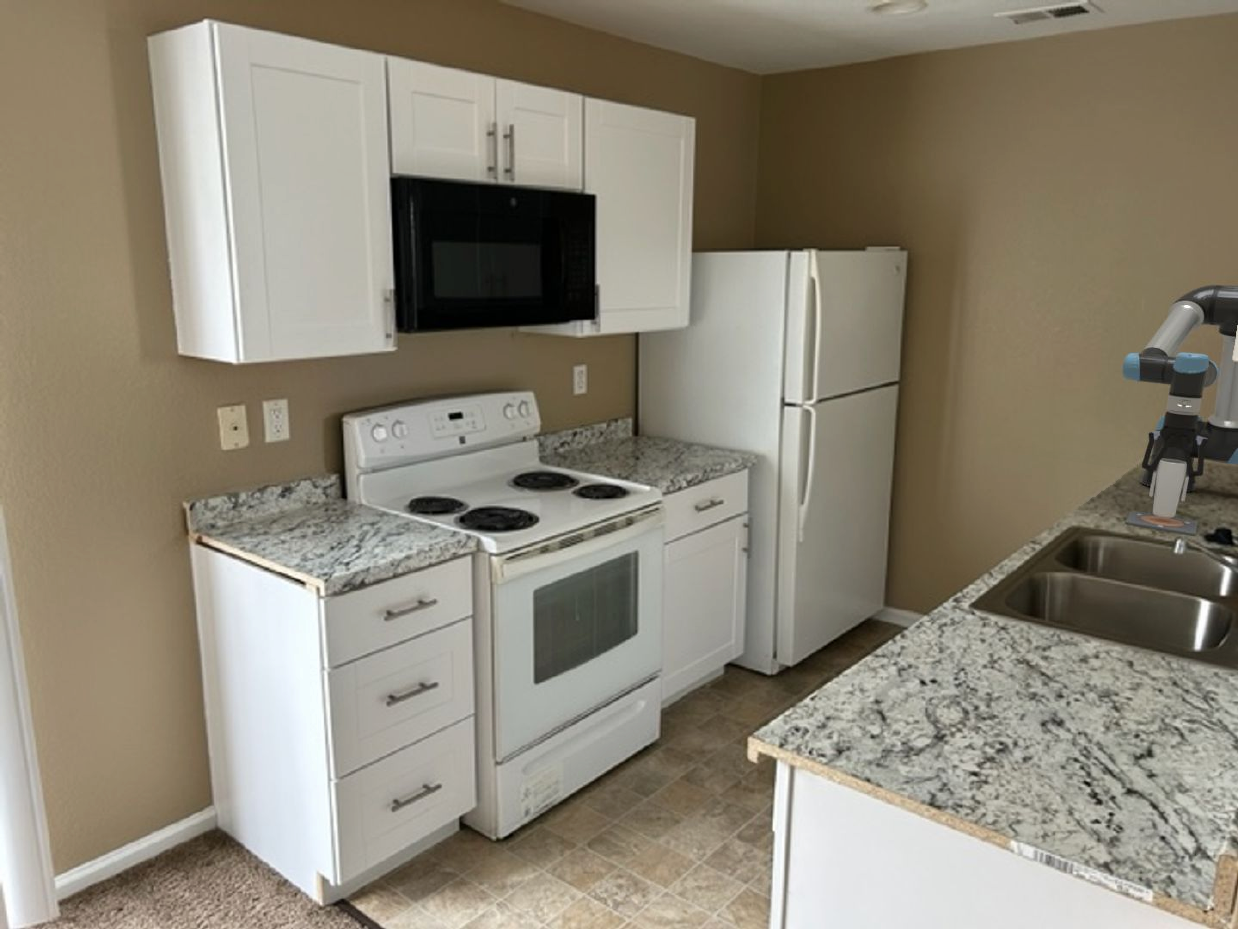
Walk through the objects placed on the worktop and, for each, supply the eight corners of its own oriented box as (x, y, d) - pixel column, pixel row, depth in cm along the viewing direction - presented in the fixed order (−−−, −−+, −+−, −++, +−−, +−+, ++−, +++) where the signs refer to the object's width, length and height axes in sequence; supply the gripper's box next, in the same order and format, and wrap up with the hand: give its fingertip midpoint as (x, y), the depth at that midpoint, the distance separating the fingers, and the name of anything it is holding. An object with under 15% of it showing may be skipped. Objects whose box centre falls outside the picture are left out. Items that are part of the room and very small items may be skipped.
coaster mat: (1131, 512, 260) (1131, 509, 260) (1197, 523, 251) (1198, 520, 251) (1125, 524, 247) (1125, 521, 246) (1195, 536, 238) (1195, 533, 238)
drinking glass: (1170, 513, 251) (1180, 459, 248) (1182, 520, 245) (1193, 464, 242) (1144, 511, 252) (1154, 457, 249) (1156, 518, 245) (1166, 462, 242)
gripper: (1139, 409, 244) (1124, 494, 249) (1227, 419, 235) (1210, 506, 240) (1139, 406, 250) (1125, 489, 255) (1225, 415, 241) (1208, 501, 246)
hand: (1166, 497), depth 247 cm, fingers closed on drinking glass, 7 cm apart
